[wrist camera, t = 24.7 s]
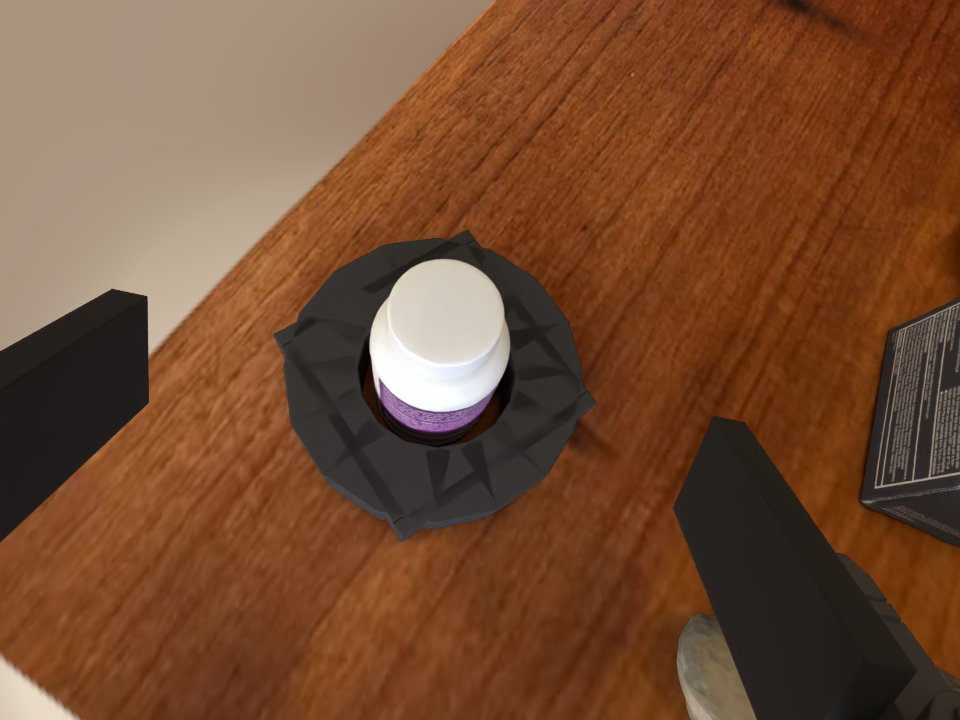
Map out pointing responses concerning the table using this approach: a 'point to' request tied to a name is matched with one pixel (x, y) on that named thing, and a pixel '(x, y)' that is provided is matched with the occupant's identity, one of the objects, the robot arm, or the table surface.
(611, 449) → the table surface
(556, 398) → the dark grey faceted ring
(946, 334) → the small box
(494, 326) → the pill bottle
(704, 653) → the stone
